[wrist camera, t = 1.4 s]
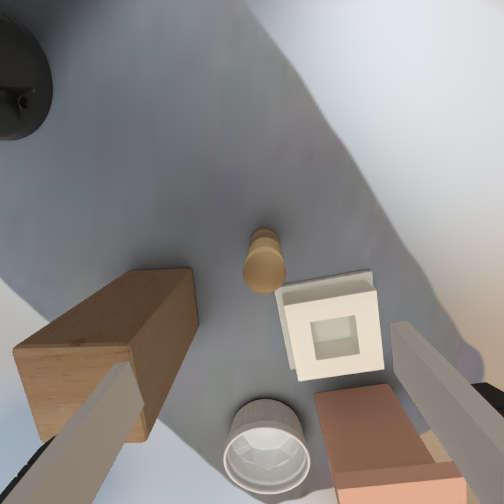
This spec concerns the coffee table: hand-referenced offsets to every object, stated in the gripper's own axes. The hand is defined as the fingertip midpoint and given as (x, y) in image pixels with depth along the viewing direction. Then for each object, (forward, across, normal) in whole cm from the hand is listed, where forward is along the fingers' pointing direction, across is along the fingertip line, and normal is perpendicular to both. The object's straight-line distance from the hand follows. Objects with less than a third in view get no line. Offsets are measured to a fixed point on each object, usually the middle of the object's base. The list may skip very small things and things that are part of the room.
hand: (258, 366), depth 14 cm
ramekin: (+27, -5, -32) cm, 42 cm away
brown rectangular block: (+27, +10, -25) cm, 38 cm away
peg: (+27, 0, 0) cm, 27 cm away
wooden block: (+27, -17, -6) cm, 32 cm away
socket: (+27, +7, -14) cm, 31 cm away
